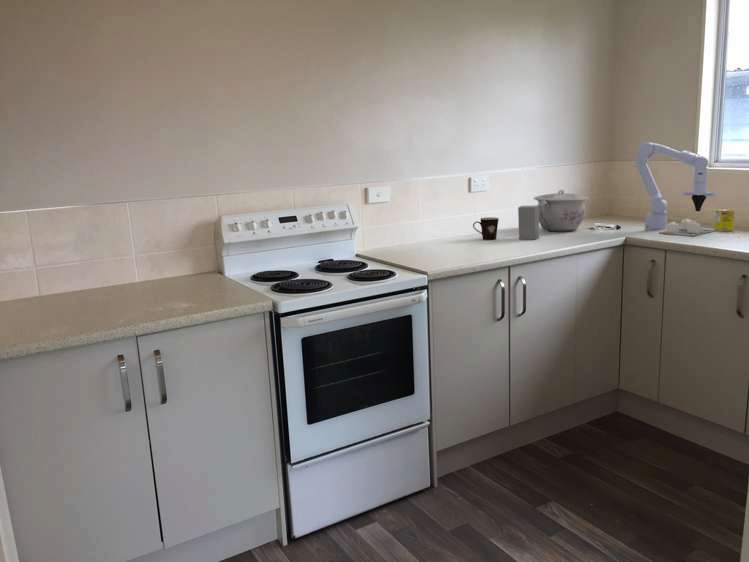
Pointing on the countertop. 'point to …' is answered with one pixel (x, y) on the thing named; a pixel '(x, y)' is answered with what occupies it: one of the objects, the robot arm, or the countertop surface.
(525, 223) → the skincare box
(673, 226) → the tab
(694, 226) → the beige block
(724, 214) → the supplement box
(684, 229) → the switch board
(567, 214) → the chamber pot
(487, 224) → the coffee mug
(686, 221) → the tab
